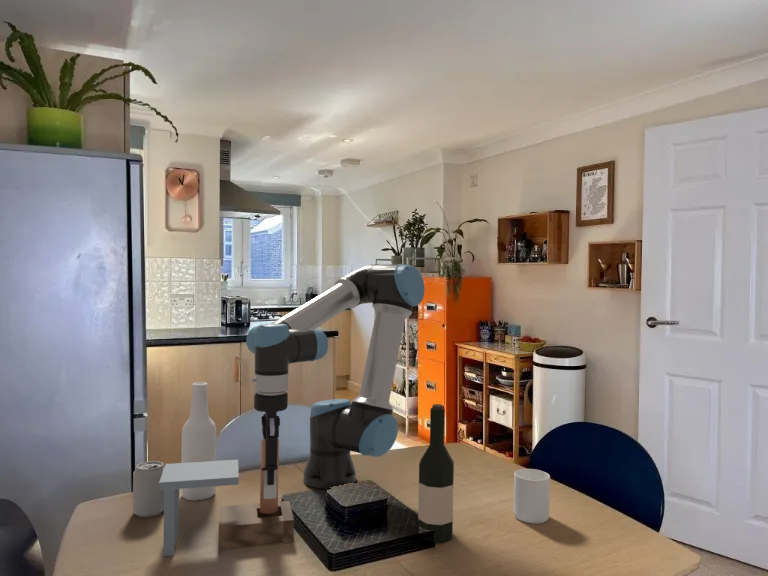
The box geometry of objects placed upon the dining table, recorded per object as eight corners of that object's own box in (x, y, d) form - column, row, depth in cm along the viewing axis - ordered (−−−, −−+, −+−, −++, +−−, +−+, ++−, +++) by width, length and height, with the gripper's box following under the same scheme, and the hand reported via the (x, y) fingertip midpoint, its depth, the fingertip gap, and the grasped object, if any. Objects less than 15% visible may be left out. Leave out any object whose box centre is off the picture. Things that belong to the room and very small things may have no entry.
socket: (288, 521, 136) (289, 500, 136) (293, 542, 126) (293, 519, 126) (219, 527, 132) (219, 506, 132) (218, 549, 122) (218, 526, 122)
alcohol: (222, 493, 153) (224, 382, 153) (197, 504, 146) (199, 387, 145) (199, 486, 158) (200, 379, 157) (173, 497, 150) (175, 384, 149)
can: (153, 520, 136) (154, 470, 135) (126, 517, 137) (126, 467, 137) (171, 508, 143) (172, 460, 143) (145, 505, 144) (145, 458, 144)
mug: (534, 504, 150) (535, 463, 150) (555, 523, 138) (556, 479, 138) (503, 505, 148) (504, 464, 148) (521, 525, 136) (522, 481, 136)
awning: (237, 525, 134) (238, 459, 134) (237, 549, 122) (238, 477, 122) (165, 531, 130) (165, 463, 129) (158, 557, 118) (159, 482, 118)
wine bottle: (443, 547, 125) (446, 411, 124) (410, 537, 129) (412, 406, 129) (459, 533, 132) (461, 404, 131) (427, 524, 136) (429, 399, 136)
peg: (277, 506, 132) (278, 437, 132) (278, 512, 128) (279, 442, 128) (259, 507, 131) (260, 438, 131) (260, 514, 127) (261, 443, 127)
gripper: (253, 385, 136) (251, 482, 137) (255, 400, 120) (253, 510, 120) (284, 384, 138) (282, 480, 139) (291, 399, 122) (289, 507, 122)
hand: (269, 493), depth 130 cm, fingers closed on peg, 4 cm apart
